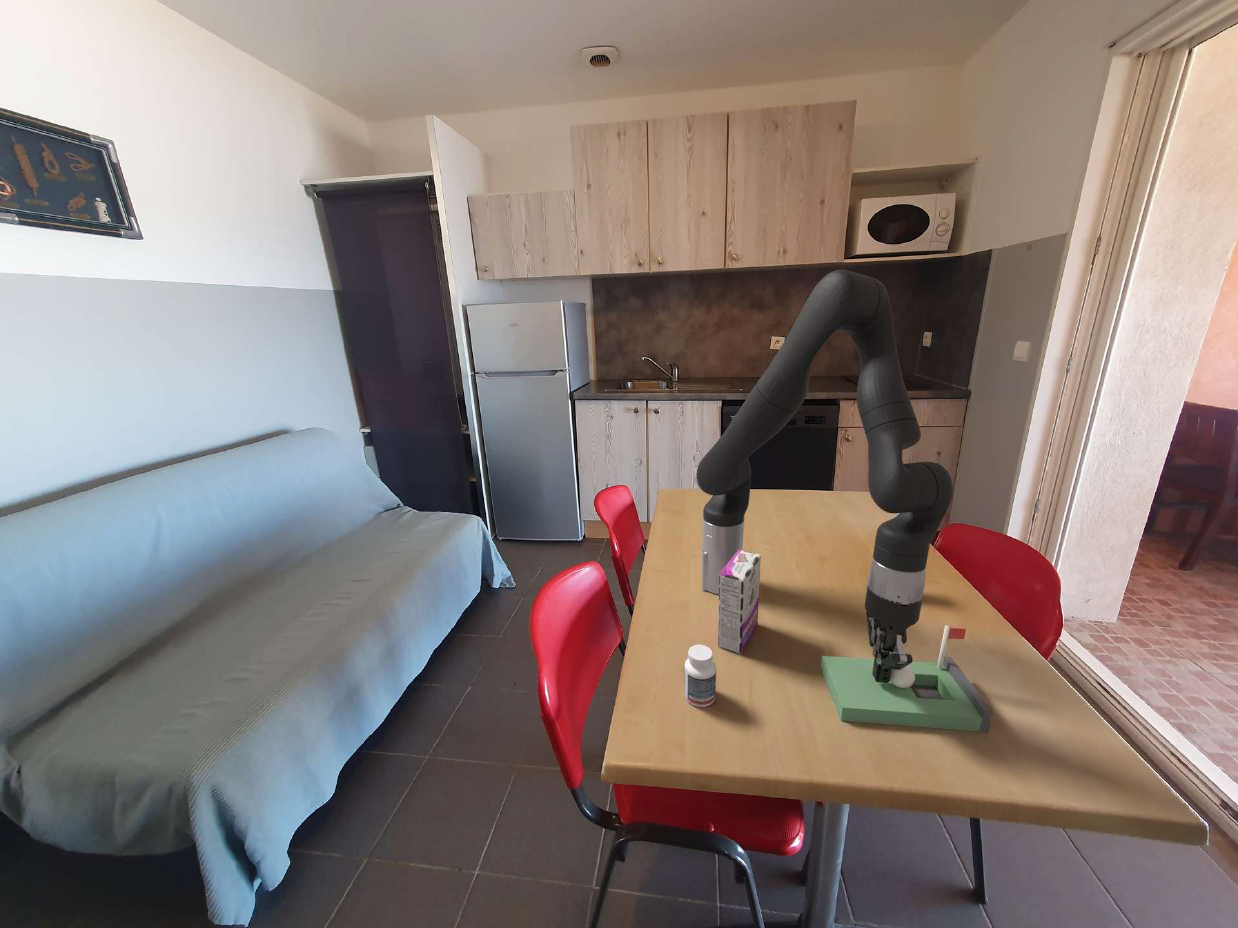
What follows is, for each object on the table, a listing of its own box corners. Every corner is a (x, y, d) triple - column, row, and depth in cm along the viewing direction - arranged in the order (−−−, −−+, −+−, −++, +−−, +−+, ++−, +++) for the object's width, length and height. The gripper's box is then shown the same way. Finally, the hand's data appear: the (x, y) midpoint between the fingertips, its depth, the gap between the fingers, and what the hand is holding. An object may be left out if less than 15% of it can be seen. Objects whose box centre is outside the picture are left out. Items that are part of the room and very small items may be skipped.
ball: (896, 671, 76) (922, 675, 76) (886, 654, 80) (912, 658, 79) (889, 690, 77) (915, 695, 77) (880, 673, 81) (905, 677, 81)
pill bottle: (721, 703, 80) (722, 659, 77) (692, 711, 78) (693, 666, 76) (706, 681, 85) (707, 639, 82) (679, 688, 83) (679, 645, 81)
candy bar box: (734, 617, 102) (737, 548, 97) (758, 624, 100) (762, 553, 95) (715, 647, 93) (718, 572, 88) (740, 655, 91) (744, 579, 86)
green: (840, 720, 76) (848, 662, 72) (820, 667, 87) (826, 615, 84) (991, 732, 72) (1006, 672, 69) (950, 675, 84) (961, 622, 81)
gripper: (855, 565, 81) (844, 651, 86) (885, 610, 68) (870, 708, 73) (903, 567, 79) (889, 654, 84) (942, 613, 67) (923, 712, 72)
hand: (880, 679), depth 79 cm, fingers closed
